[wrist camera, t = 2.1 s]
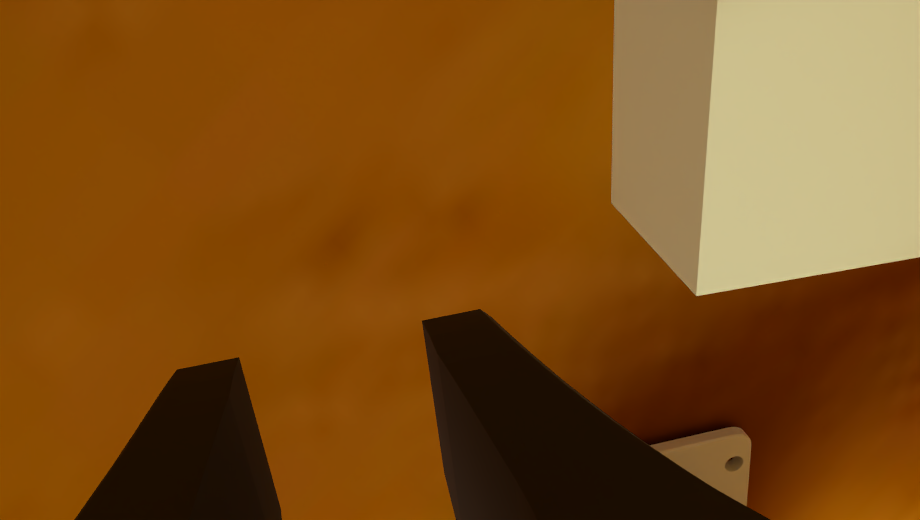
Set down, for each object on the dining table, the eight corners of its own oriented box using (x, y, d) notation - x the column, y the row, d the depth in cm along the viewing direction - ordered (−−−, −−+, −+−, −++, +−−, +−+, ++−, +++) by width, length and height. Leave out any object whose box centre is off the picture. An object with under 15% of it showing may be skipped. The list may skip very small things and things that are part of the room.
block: (884, 157, 20) (1033, 237, 17) (608, 199, 19) (696, 296, 16) (933, -114, 18) (1125, -95, 14) (612, -81, 17) (720, -50, 13)
